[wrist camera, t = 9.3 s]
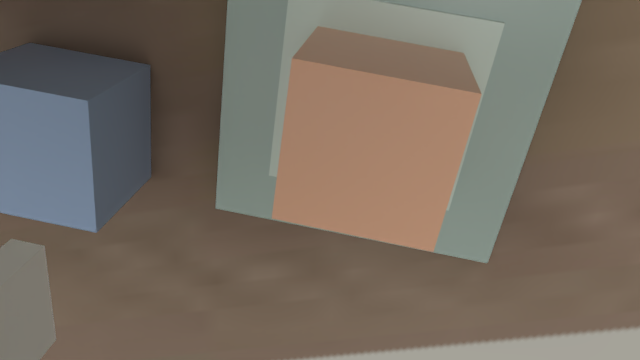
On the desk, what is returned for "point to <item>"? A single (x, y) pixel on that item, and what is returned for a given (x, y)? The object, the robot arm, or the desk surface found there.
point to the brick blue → (72, 134)
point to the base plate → (412, 27)
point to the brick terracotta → (373, 136)
